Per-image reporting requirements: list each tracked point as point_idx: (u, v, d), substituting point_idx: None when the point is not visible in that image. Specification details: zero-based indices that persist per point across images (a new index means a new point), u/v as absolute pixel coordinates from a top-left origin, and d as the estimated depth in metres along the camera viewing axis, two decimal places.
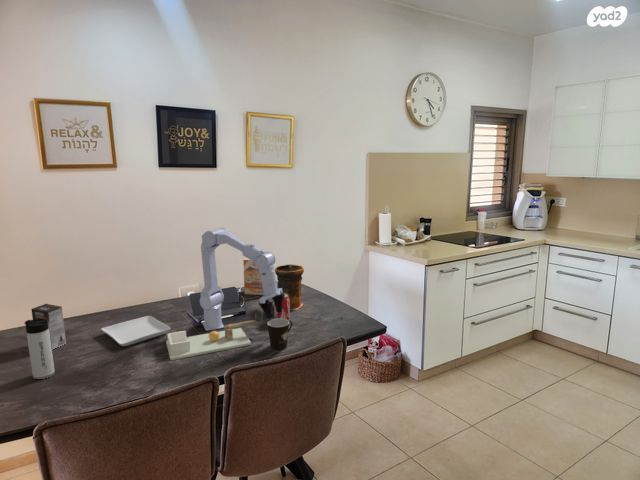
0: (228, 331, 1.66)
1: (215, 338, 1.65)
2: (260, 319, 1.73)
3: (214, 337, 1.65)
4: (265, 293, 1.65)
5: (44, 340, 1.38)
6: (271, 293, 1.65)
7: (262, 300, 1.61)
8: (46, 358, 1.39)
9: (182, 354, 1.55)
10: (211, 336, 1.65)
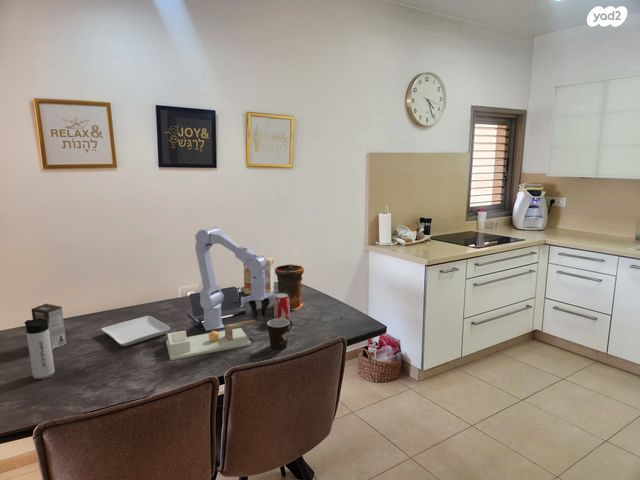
0: (228, 331, 1.66)
1: (215, 338, 1.65)
2: (260, 319, 1.73)
3: (214, 337, 1.65)
4: None
5: (44, 340, 1.38)
6: (254, 296, 1.69)
7: (241, 300, 1.69)
8: (46, 358, 1.39)
9: (182, 354, 1.55)
10: (211, 336, 1.65)
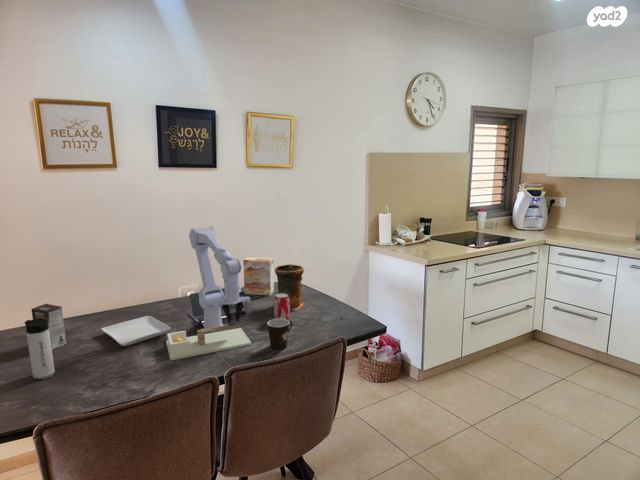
0: (200, 336, 1.62)
1: None
2: (234, 323, 1.68)
3: None
4: (225, 298, 1.67)
5: (44, 340, 1.38)
6: (227, 300, 1.65)
7: (214, 304, 1.64)
8: (46, 358, 1.39)
9: (182, 354, 1.55)
10: None
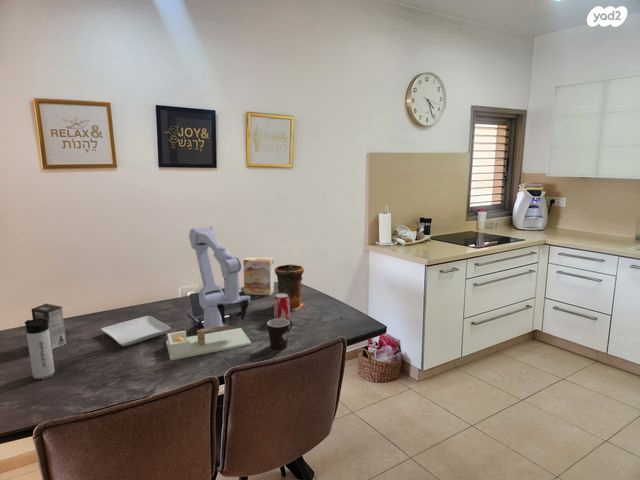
0: (200, 336, 1.62)
1: None
2: (234, 323, 1.68)
3: None
4: (224, 297, 1.67)
5: (44, 340, 1.38)
6: (227, 299, 1.65)
7: (214, 303, 1.64)
8: (46, 358, 1.39)
9: (182, 354, 1.55)
10: None
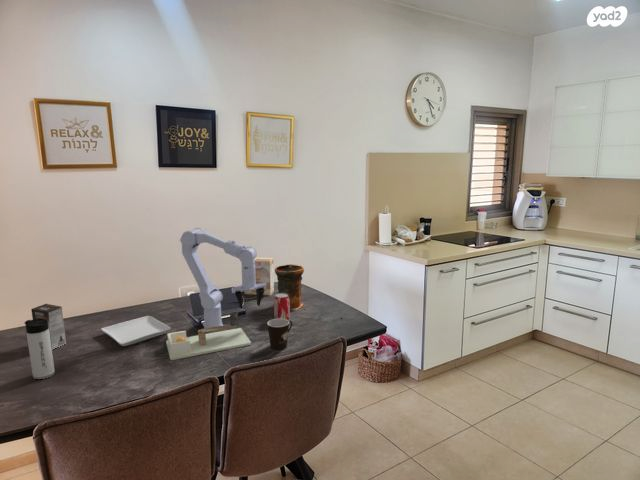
0: (201, 336, 1.62)
1: None
2: (235, 323, 1.68)
3: None
4: (242, 284, 1.76)
5: (44, 340, 1.38)
6: (244, 286, 1.74)
7: (232, 290, 1.73)
8: (46, 358, 1.39)
9: (182, 354, 1.55)
10: None
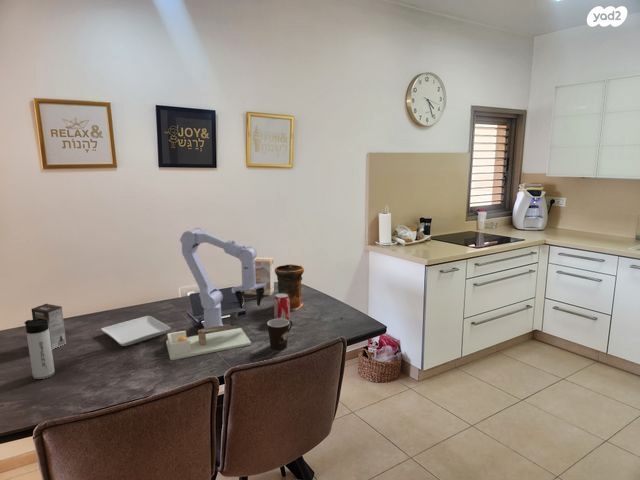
0: (201, 336, 1.62)
1: None
2: (235, 323, 1.68)
3: None
4: (242, 284, 1.76)
5: (44, 340, 1.38)
6: (244, 286, 1.74)
7: (232, 290, 1.73)
8: (46, 358, 1.39)
9: (182, 354, 1.55)
10: (179, 341, 1.60)
